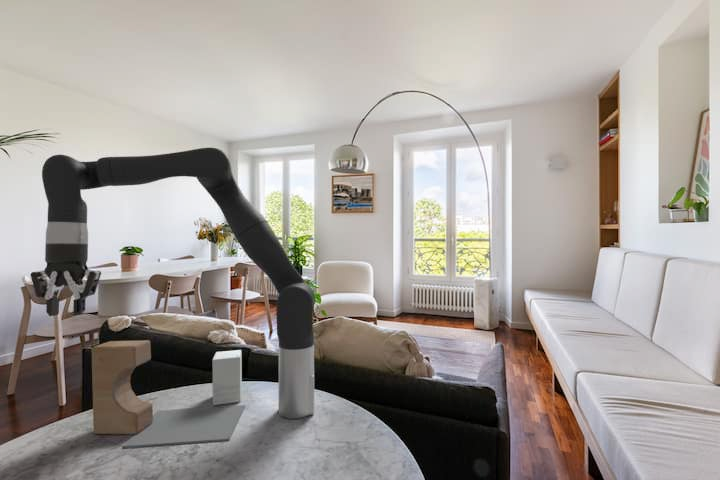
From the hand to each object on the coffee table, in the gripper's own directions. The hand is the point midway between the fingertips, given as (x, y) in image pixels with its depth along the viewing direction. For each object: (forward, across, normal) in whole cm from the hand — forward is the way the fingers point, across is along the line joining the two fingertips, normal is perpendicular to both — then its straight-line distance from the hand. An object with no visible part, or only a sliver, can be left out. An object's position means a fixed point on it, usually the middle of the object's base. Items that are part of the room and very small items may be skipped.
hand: (65, 314), depth 78 cm
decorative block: (+27, -13, 0) cm, 30 cm away
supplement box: (+28, -33, -14) cm, 45 cm away
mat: (+27, -28, 0) cm, 39 cm away
